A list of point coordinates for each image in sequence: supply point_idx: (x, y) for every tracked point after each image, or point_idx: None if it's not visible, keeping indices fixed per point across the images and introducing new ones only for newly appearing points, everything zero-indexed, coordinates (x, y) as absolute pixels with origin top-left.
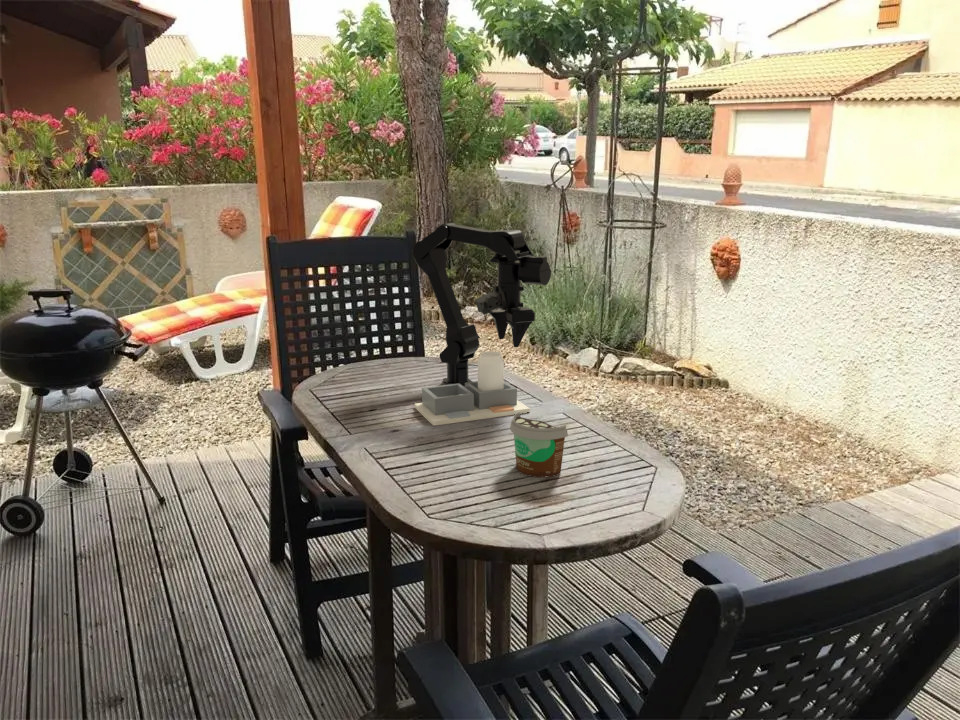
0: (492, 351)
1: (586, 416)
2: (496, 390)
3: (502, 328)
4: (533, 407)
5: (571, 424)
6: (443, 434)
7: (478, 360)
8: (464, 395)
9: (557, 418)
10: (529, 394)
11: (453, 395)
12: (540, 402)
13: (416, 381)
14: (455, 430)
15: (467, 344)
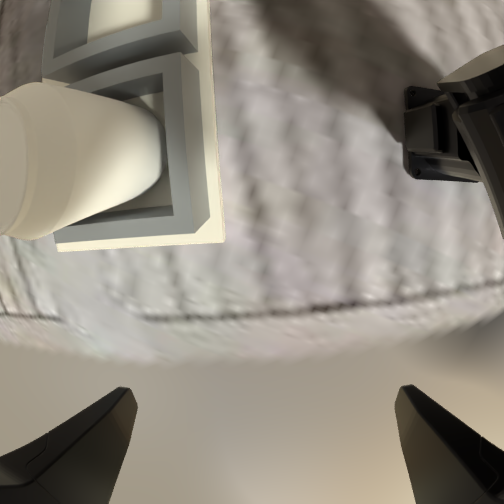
0: (23, 194)
1: (46, 347)
2: None
3: (423, 463)
4: (100, 275)
5: (10, 297)
6: (16, 24)
7: (24, 85)
8: (44, 47)
9: (33, 290)
10: (222, 316)
11: (56, 14)
12: (138, 312)
13: (477, 32)
14: (20, 44)
15: (497, 142)
